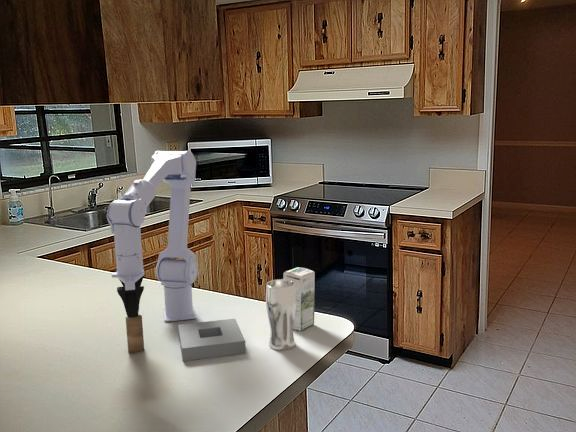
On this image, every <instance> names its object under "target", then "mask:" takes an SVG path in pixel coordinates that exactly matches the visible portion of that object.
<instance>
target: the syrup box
mask: <svg viewBox="0 0 576 432" xmlns="http://www.w3.org/2000/svg"><path fill="white" fill-rule="evenodd" d="M315 273H316V272H315V271H314V270H311V269H309V268H306V267H298V266H297V267H295V268H292V269H289V270H285V271H284V272H283V277H282V279H287V280H291V281H294V282H295V290H296V312H295V318H294V324H293V330H295V331H298V332H299V331H300V332H302V331H304V330H306V329H307V328H310V327H311V326H313V325H315V291H316V289H315V285H316V284H315V279H316V277H315V275H316V274H315Z"/></svg>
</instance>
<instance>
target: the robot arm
mask: <svg viewBox="0 0 576 432" xmlns="http://www.w3.org/2000/svg"><path fill="white" fill-rule="evenodd" d="M150 160H151V162H150V165H151V166H150V168H148V171H147V172H146V173H145V175H144V177H143V178H142V179H135V180H134V181H133V182H132V184H131V186H129V188H128V189H127V190H126V191H125V193H124V194H123V195H122V196H121V198H119V199H115V200H113V201H112V202H111V203H110V204H109V205H108V207H107V211H106V212H107V214H105V215H106V219H107V222H108V224H109V226H110V232H111V233H112V234H113V238H114V239H113V240H114V252H115V262H116V263H115V264H116V271H115V272H111V278H115V279H116V278H117V279H118V280H119V282H120V283H121V285H122V286H117V288H116V292H117V294H118V295H119V297H120V298H121V300H122V304H123V306H124V310H125V313H126V317H127V316H128V318H132V317H138V314H139V311H140V301H141V297H142V295H143V292H144V290H145V286H144V285H142V282H143V280H144V278H145V270H144V259H143V257H144V256H143V244H142V234H141V232H142V231H141V230H142V229H141V225H142V224H143V223H144V221H145V218H146V213H147V210H148V209H147V208H148V206H149V205H150V204H151V202H152V201H153V200H154V198H155V197H156V195H157V192H156V189H157V187H158V186H159V185H161V183H162V182H163V183H165V184H167V185H168V186H169V188H170V197H169V198H170V201H169V202H170V203H169V218H168V235H167V246H166V248H165V249H163V251H161V252H160V253H158V258H157V263H156V266H155V276H156V279H157V280H158V282H161V283H160V284H161V286H163V291H164V293H163V295H164V296H163V297H164V307H163V315H164V317H163V319H164V322H165V323H167V322H176V321H177V322H179V321H184V320H194V319H196V318H197V317H196V313H195V309H194V306H193V304H194V303H193V289H192V287H193V286H192V284H193V283H194V282H195V281H196V279H197V277H198V272H199V269H198V267H199V266H198V263H197V262H198V261H197V260H198V259H197V255H196V254H195V253H194V252H193V251H191V249H190V248H188V239H189V238H188V236H189V235H188V234H189V219H190V217H189V216H190V202H191V201H190V199H191V186H192V185H193V184H195V182H196V173H197V172H196V170H197V161H196V158H195V155H194V153H193V152H192V151H191V150H184V151H183V150H168V151H167V150H156V151H154V154H153V155H152V156H151V158H150ZM141 285H142V286H141Z"/></svg>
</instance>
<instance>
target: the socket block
mask: <svg viewBox="0 0 576 432" xmlns="http://www.w3.org/2000/svg"><path fill="white" fill-rule="evenodd" d="M177 326H178V327H177V329H178V341H179V345H180V347H179V348H180V352H181V360H182V362H187V361H194V360H203V359H211V358H212V359H213V358H220V357H226V356H236V355H242V354H246V340H245V337H244V335H243V333H242V331H241V328H240V326H239V324H238V322H237V320H236V318H228V319H219V320H218V319H217V320H210V321H200V322H191V323H182V324H177Z"/></svg>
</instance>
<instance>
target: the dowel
mask: <svg viewBox="0 0 576 432" xmlns="http://www.w3.org/2000/svg"><path fill="white" fill-rule="evenodd" d="M125 327H126V339H127V340H126V342H127V352H128V353H130V354H139V353H142V352H143V351H145V343H144V342H145V341H144V340H145V339H144V327H143V315H141V314H139V313H138V317H132V318H128V316H127V315H126V317H125Z"/></svg>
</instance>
